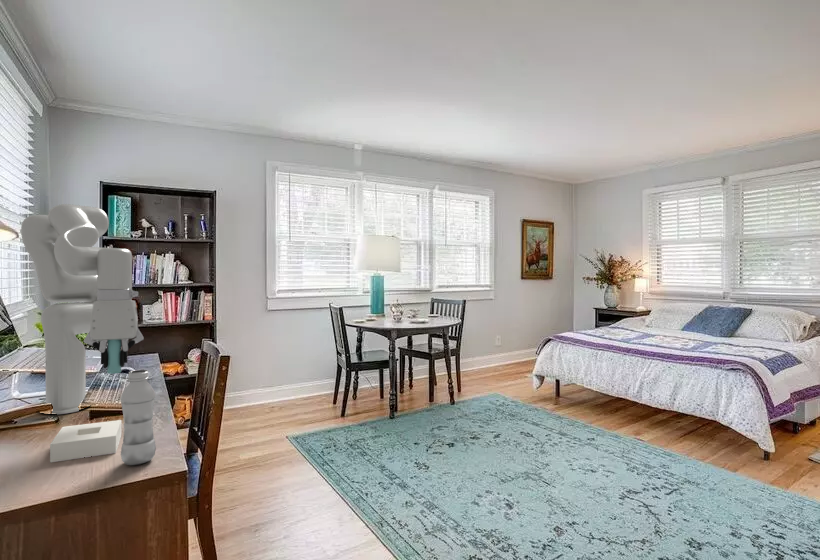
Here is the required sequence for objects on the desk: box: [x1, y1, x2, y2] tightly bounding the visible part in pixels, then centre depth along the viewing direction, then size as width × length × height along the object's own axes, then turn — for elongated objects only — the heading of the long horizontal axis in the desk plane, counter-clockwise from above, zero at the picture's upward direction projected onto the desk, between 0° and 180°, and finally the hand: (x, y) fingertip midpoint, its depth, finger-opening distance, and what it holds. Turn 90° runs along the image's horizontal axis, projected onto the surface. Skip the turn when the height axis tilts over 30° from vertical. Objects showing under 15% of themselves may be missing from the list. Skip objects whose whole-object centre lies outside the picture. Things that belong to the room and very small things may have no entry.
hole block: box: [49, 419, 123, 463], centre depth 106 cm, size 12×12×4 cm
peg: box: [106, 340, 122, 375], centre depth 117 cm, size 3×3×10 cm
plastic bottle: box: [120, 369, 157, 466], centre depth 98 cm, size 6×7×20 cm
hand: (114, 365), depth 117 cm, fingers closed on peg, 3 cm apart
